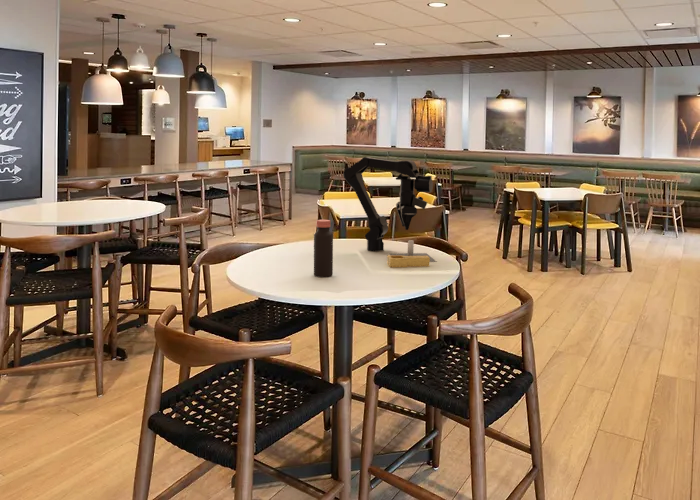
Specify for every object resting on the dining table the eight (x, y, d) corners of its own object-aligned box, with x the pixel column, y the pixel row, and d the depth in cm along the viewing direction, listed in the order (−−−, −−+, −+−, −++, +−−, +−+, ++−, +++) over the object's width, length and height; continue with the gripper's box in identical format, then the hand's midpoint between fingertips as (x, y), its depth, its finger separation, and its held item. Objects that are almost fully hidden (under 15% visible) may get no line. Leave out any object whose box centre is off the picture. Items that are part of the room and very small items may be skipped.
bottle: (325, 278, 217) (326, 222, 213) (310, 275, 221) (310, 220, 217) (336, 274, 223) (336, 220, 219) (320, 272, 226) (321, 218, 223)
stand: (396, 265, 241) (397, 246, 239) (389, 256, 258) (389, 238, 257) (436, 264, 242) (437, 246, 241) (426, 255, 260) (426, 238, 259)
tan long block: (426, 266, 239) (426, 255, 238) (430, 269, 233) (430, 258, 232) (387, 266, 237) (387, 255, 237) (390, 270, 231) (390, 258, 230)
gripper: (430, 193, 246) (428, 232, 249) (422, 189, 265) (420, 225, 268) (402, 193, 246) (401, 231, 249) (396, 188, 264) (395, 224, 267)
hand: (405, 228), depth 258 cm, fingers open, 9 cm apart
